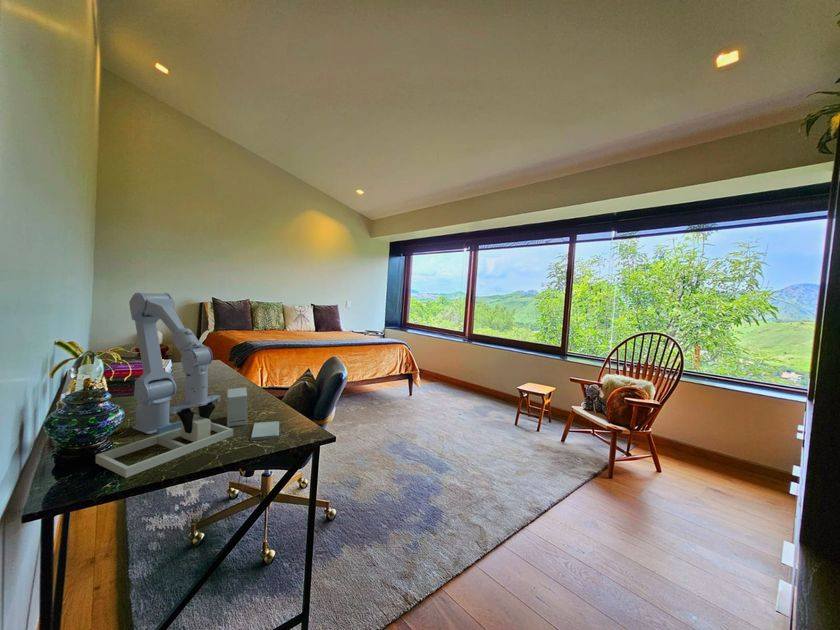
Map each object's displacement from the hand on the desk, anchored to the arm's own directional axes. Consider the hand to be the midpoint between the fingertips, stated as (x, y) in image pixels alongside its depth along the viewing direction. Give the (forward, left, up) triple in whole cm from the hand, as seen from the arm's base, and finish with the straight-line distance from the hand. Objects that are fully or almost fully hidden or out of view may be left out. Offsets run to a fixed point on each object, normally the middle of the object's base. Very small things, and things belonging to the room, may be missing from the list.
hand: (195, 429), depth 106 cm
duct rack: (0, -7, -3) cm, 8 cm away
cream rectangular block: (0, 0, -3) cm, 3 cm away
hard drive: (+13, +15, -4) cm, 20 cm away
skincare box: (-3, +16, -3) cm, 17 cm away
